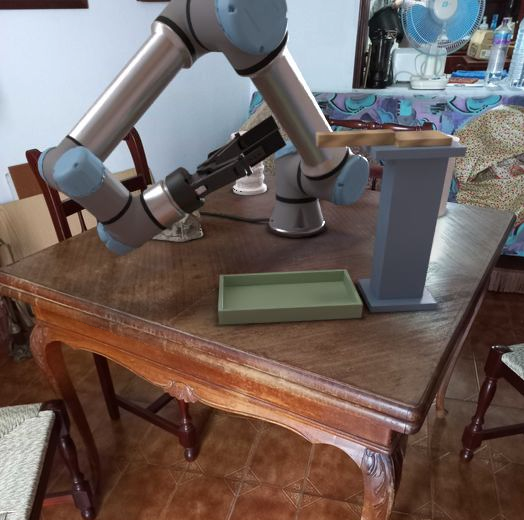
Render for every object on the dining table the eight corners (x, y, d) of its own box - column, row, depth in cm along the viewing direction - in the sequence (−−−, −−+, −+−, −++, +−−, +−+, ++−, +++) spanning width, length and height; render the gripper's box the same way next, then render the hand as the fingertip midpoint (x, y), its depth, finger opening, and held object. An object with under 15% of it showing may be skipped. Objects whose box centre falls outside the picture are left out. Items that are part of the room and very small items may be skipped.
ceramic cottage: (137, 228, 135) (130, 174, 126) (192, 221, 140) (189, 169, 131) (149, 250, 123) (142, 193, 114) (208, 242, 129) (206, 187, 120)
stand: (360, 313, 93) (377, 152, 76) (348, 285, 103) (361, 137, 86) (435, 309, 93) (469, 148, 76) (416, 282, 103) (442, 134, 86)
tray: (219, 325, 90) (217, 311, 89) (220, 287, 103) (219, 274, 102) (361, 318, 91) (362, 304, 90) (345, 281, 104) (346, 269, 102)
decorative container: (270, 193, 160) (269, 135, 150) (237, 196, 158) (234, 138, 147) (261, 184, 169) (260, 129, 159) (230, 187, 167) (226, 132, 157)
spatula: (319, 150, 77) (320, 137, 76) (313, 142, 83) (314, 129, 82) (451, 145, 78) (454, 132, 77) (436, 137, 84) (438, 125, 83)
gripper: (193, 194, 96) (283, 135, 91) (182, 239, 76) (297, 167, 70) (170, 161, 92) (263, 97, 87) (152, 200, 72) (272, 119, 66)
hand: (278, 128), depth 78 cm, fingers open, 13 cm apart
